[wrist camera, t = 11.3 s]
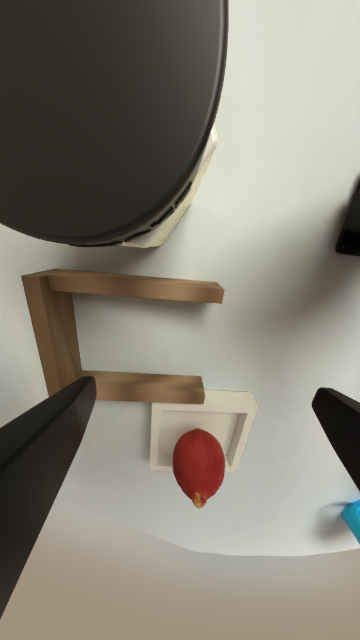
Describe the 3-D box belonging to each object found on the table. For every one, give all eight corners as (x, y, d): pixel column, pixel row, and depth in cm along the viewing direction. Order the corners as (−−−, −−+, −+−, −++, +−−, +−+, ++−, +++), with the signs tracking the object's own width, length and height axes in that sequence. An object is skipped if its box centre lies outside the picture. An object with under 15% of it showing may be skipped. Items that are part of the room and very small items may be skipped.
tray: (250, 392, 23) (258, 407, 21) (231, 454, 28) (236, 472, 26) (154, 387, 22) (152, 402, 20) (151, 452, 27) (149, 470, 25)
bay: (216, 282, 18) (227, 292, 14) (199, 384, 22) (205, 412, 19) (54, 268, 17) (21, 275, 13) (72, 378, 22) (51, 406, 18)
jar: (82, 236, 16) (-125, 219, 5) (77, 109, 13) (-502, -692, 2) (185, 252, 17) (207, 269, 6) (202, 136, 14) (323, -319, 3)
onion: (217, 449, 25) (226, 533, 17) (175, 444, 25) (165, 524, 18) (223, 415, 23) (236, 492, 15) (177, 410, 23) (167, 483, 16)
